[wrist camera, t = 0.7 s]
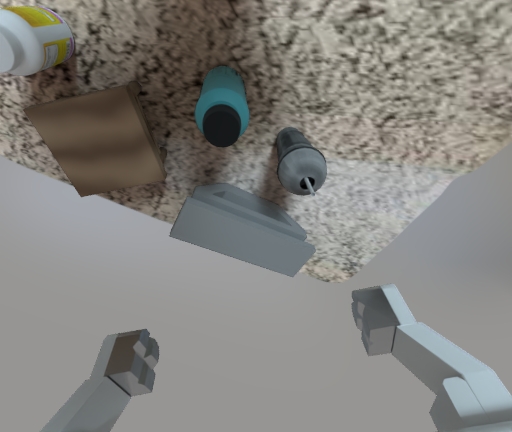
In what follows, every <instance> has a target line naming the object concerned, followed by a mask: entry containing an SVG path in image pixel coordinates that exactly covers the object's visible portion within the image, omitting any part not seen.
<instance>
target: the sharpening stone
mask: <svg viewBox="0 0 512 432" xmlns="http://www.w3.org/2000/svg"><path fill="white" fill-rule="evenodd" d="M170 237H173V238H176V239H180V240H182V241H185V242H189V243H191V244H194V245H197V246H200V247H203V248H206V249H209V250H212V251H215V252H219V253H221V254H224V255H227V256H230V257H233V258H236V259H239V260H242V261H245V262H248V263H251V264H254V265H258V266H260V267H263V268H266V269H269V270H273V271H275V272H279V273H282V274H285V275H287V276H290V277H294V275H295V274H296V273H297V272H298V271H299V270H300V269H301V267H302V266H303V265H304V264H305V263H306V262H307V261H308V259H309V258H310V257H311V256H312V255H313V254H314V253H315V251H316V250H315V247H314V245H312V244H309V243H307V242H304V240H305V239H306V238H307V235H306V232H305V230H304V229H303V228H302V227H301V226H300V225H299V224H298V223H297V222H296V221H294V220H293V219H292V218H291V217H290V216H289V215H288V214H287V213H286V212H285V211H284V210H283V209H281V208H280V207H279V206H278V205H277V204H275V203H273V202H270V201H268V200H265V199H263V198H261V197H258V196H256V195H254V194H251V193H249V192H247V191H244V190H242V189H240V188H237V187H235V186H232V185H230V184H228V183H222V184H212V185H203V186H196V188H195V190H194V192H193V194H192V196H191V197H188V196H187V198H186V200H185V202H184V204H183V206H182V208H181V210H180V213H179V215H178V217H177V219H176V221H175V223H174V225H173V227H172V229H171V232H170Z"/></svg>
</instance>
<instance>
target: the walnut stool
mask: <svg viewBox="0 0 512 432" xmlns="http://www.w3.org/2000/svg"><path fill="white" fill-rule="evenodd" d="M140 91H141V85H140V84H139V83H138V82H137V81H131V82H130V83H129V84H127V85H122V86H118V87H113V88H109V89H104V90H100V91H95V92H91V93H86V94H82V95H77V96H73V97H69V96H63V97H62V98H60V99H58V100H55V101H50V102H46V103H41V104H37V105H32V106H29V107H28V108H26V109H24V112H25V113H26V115H27V116H28V118H29V119H30V121H31V122H32V124H33V125H34V127H35V128H36V130H37V131H38V133H39V134H40V136H41V137H42V139H43V140H44V142H45V143H46V145H47V146H48V148H49V149H50V151H51V152H52V154H53V156H54V157H55V159H56V160H57V162H58V163H59V165H60V166H61V168H62V169H63V171H64V172H65V174H66V175H67V177H68V178H69V180H70V181H71V183H72V184H73V186H74V187H75V189H76V190H77V192H78V193H79V195H80V196H81V197H84V196H88V195H94V194H99V193H104V192H109V191H114V190H118V189H123V188H128V187H133V186H138V185H143V184H148V183H153V182H158V181H163V180H165V179H166V176H167V173H166V171H165V168H164V166H163V163H164V160H165V158H166V155H167V150H166V149H165V148H163V147H160V148H159V146H158V144H157V142H156V139H155V137H154V134H153V132H152V130H151V127H150V125H149V122H148V120H147V118H146V115H145V113H144V110H143V108H142V105H141V103H140V101H139V98H138V96H137V94H138V93H139V92H140Z"/></svg>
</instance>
